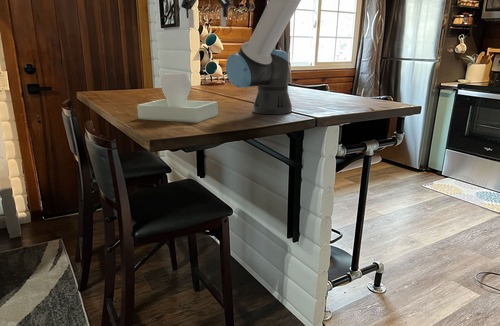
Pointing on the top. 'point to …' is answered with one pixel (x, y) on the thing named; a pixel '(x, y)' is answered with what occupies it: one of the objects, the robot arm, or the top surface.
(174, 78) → the cup
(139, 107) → the white shallow tray
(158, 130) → the top surface
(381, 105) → the top surface
